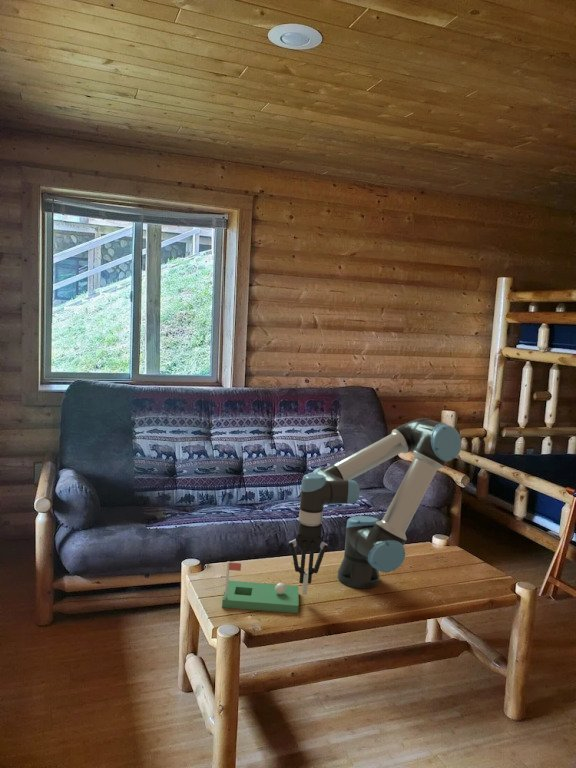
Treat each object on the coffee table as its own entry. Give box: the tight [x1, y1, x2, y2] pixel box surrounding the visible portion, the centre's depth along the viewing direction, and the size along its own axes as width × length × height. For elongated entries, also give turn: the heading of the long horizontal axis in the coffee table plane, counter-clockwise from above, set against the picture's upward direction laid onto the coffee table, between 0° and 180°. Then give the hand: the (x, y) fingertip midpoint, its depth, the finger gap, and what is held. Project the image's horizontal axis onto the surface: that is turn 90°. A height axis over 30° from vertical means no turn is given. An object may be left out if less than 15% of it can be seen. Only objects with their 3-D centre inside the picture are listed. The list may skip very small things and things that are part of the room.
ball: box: [275, 582, 286, 595], centre depth 192 cm, size 4×4×4 cm
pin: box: [224, 561, 242, 599], centre depth 186 cm, size 4×1×12 cm, turn 89°
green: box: [221, 580, 300, 614], centre depth 192 cm, size 24×14×2 cm, turn 89°
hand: (304, 592), depth 192 cm, fingers closed
